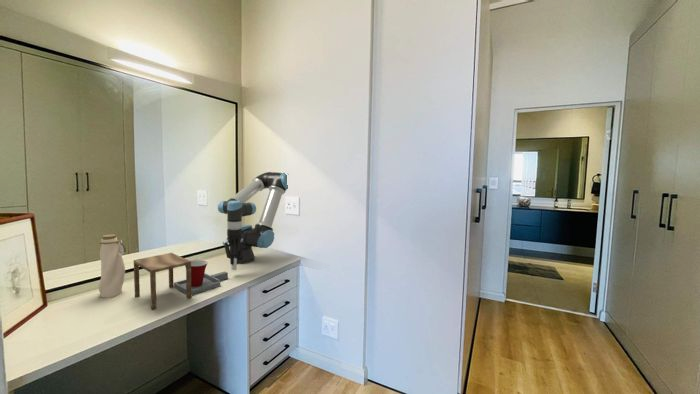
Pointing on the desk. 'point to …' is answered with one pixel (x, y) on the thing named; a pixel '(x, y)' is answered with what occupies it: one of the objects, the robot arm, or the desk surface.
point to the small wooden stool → (161, 264)
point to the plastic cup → (197, 272)
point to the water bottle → (111, 266)
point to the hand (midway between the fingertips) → (234, 269)
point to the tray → (207, 283)
